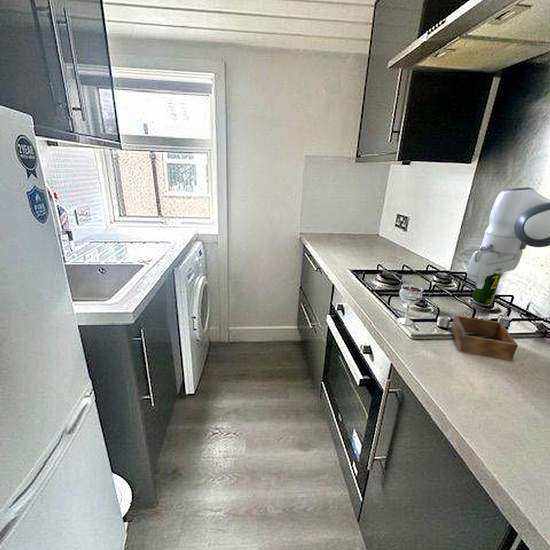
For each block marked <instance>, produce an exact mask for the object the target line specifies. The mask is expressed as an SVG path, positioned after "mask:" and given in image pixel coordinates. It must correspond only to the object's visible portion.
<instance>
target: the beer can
mask: <svg viewBox="0 0 550 550" xmlns="http://www.w3.org/2000/svg"><path fill="white" fill-rule="evenodd" d="M501 274H502V269H501V270H500V269H498V270H496V271H495V273H494V274H493V275H490V276H487V277H486V279H485V283H486V286H485V288H483V289H479V288H477V287H476V285H477V283H476V284H475V288H474V292H473V294H472V302H473V303H474V304H477V305H479V306H483V307H489V306H491V305H492V304H493V303H494V302H493V301H494V299H495V296H496V292H497V291H498V286H499V284H500V281H501V279H502V277H501Z"/></svg>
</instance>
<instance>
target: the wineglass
mask: <svg viewBox="0 0 550 550" xmlns="http://www.w3.org/2000/svg"><path fill="white" fill-rule="evenodd" d="M423 292H424V288H423V287H421V286H419V285H417V284H412V283H403V284H401V285H400V289H399V292H398V295H399V298H400V299H401V300H402V301H403V302H404V303H406V308H405V315H404V317H398V318H397V319H396V322H398V323H399V324H400V325H404V326H411V325H413V324H414V322H413V320H411V319H410V318H408V314H409V309H410V306H411V305H413V304H417V303H418V302H420V301H421V300H422V299H423Z"/></svg>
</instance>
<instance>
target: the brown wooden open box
mask: <svg viewBox="0 0 550 550" xmlns="http://www.w3.org/2000/svg"><path fill="white" fill-rule="evenodd" d="M450 330H451V332H452V336H453V338H454V340H455V343H456V345H457V348H458V350H459V351H458V352H463V353H468V354H473V355H479V356H485V357H489V358H495V359H499V360H505V361H510V362H512V361H513V360H514V357H515V355H516V352H517V349H518V344H517V342H516V341H515V339H514V338H513V336H512V335H511V334H510V332H509V331H508V330H507V328H506V327H505V325H504V323H502V321H501V322H500V321H495V320H488V319H483V318H482V319H481V318H477V317H470V316H463V315H457V314H454V317H453V319H452V323H451V326H450ZM468 334H472V335H468ZM474 335H477V336H474ZM478 335H479V336H485V337H486V338H485V337H479V336H478ZM487 337H490V338H487ZM491 338H494V339H491Z"/></svg>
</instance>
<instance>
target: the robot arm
mask: <svg viewBox="0 0 550 550" xmlns="http://www.w3.org/2000/svg"><path fill="white" fill-rule="evenodd" d="M488 220H489V222H488V226H487V227H486V229H485V231H484V234H483V238H482V242H481V246H480V247H479V249H478V250H476V251H474V252H473V254H472V255H471V258H470V260H469V263H468V266H467V269H466V274H467V276H469V277H472V278H474V279H476V284H477V285H476V284H475V288H476V287H477V288H479V289H483V288H485V286H486V283H485V279H486V277H487V276H490V275H493V274H494V273H495V271H496V270H498V269H500V270H501V269H502V274H501V278H502V277H503V276H504V273H507V272H512V271H514V270H516V268H518V266H519V264H520V260H521V258H522V256H523V252H524V251H523V250H526V249H527V246H529V247H532V248H546V247H550V199H549V198H547V197H545V196H544V195H542V194H540V193H539V192H537V191H536V190H535V188H533V187H527V186H526V187H513V188H507V189H503V190H502V191H500V192H499V193H498V194H497V196H496V198H495V199H494V202H493V205H492V207H491V210H490V213H489V219H488Z"/></svg>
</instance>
